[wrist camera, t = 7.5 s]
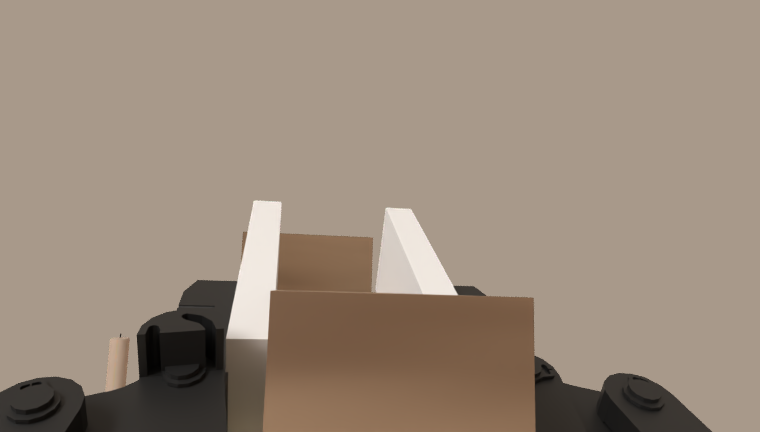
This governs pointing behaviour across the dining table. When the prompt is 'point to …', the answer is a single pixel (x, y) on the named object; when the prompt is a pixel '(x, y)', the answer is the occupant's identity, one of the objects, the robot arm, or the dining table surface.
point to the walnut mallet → (389, 350)
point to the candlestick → (117, 363)
